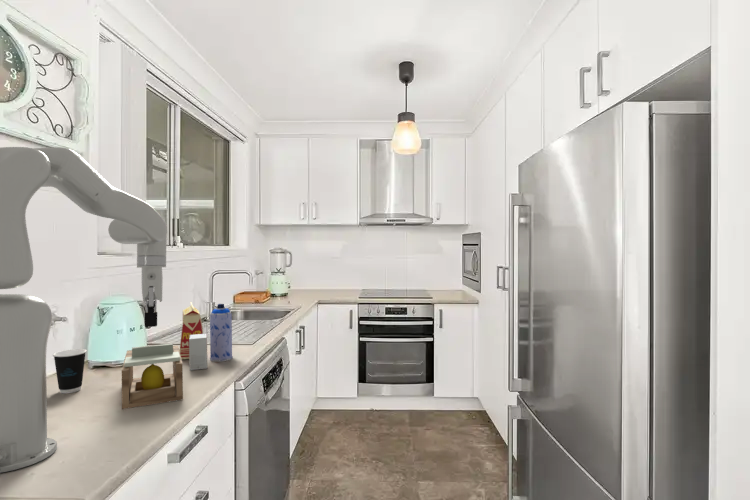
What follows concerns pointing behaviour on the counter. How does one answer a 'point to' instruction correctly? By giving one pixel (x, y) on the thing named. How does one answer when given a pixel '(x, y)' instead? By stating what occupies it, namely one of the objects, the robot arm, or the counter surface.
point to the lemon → (152, 377)
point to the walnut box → (140, 397)
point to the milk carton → (189, 329)
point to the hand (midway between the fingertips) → (150, 326)
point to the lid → (152, 355)
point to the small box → (198, 351)
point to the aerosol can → (220, 334)
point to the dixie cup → (70, 369)
